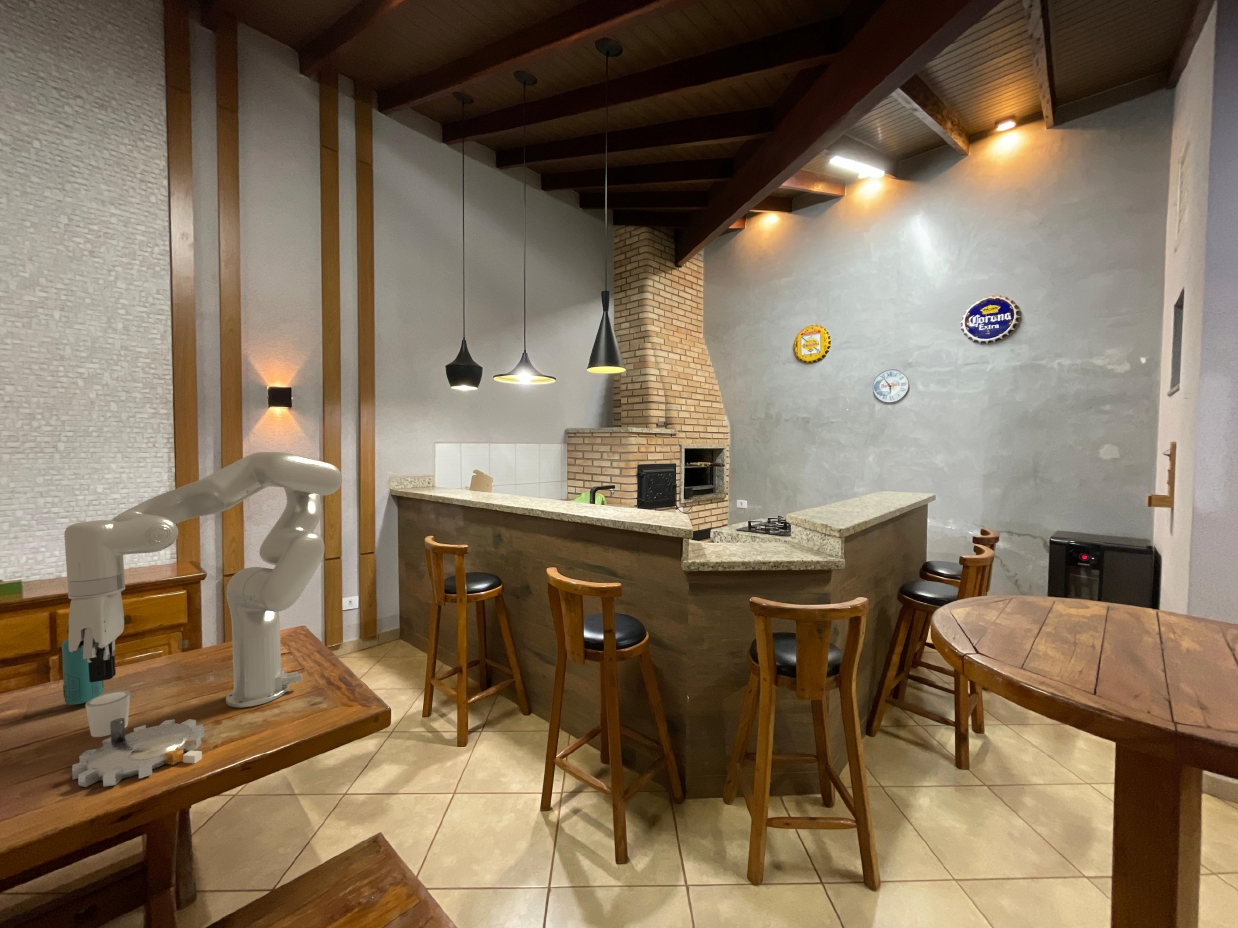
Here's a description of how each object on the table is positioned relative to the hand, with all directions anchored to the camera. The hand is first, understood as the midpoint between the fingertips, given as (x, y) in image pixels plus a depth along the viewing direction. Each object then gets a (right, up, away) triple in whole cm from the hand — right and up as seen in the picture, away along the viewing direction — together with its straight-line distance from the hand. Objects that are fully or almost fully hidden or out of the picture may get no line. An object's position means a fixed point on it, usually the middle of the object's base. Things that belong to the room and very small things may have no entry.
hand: (102, 678), depth 96 cm
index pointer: (+16, -16, +1) cm, 23 cm away
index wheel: (+6, -16, +2) cm, 17 cm away
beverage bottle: (-28, -16, +22) cm, 39 cm away
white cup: (-11, -16, +12) cm, 23 cm away
